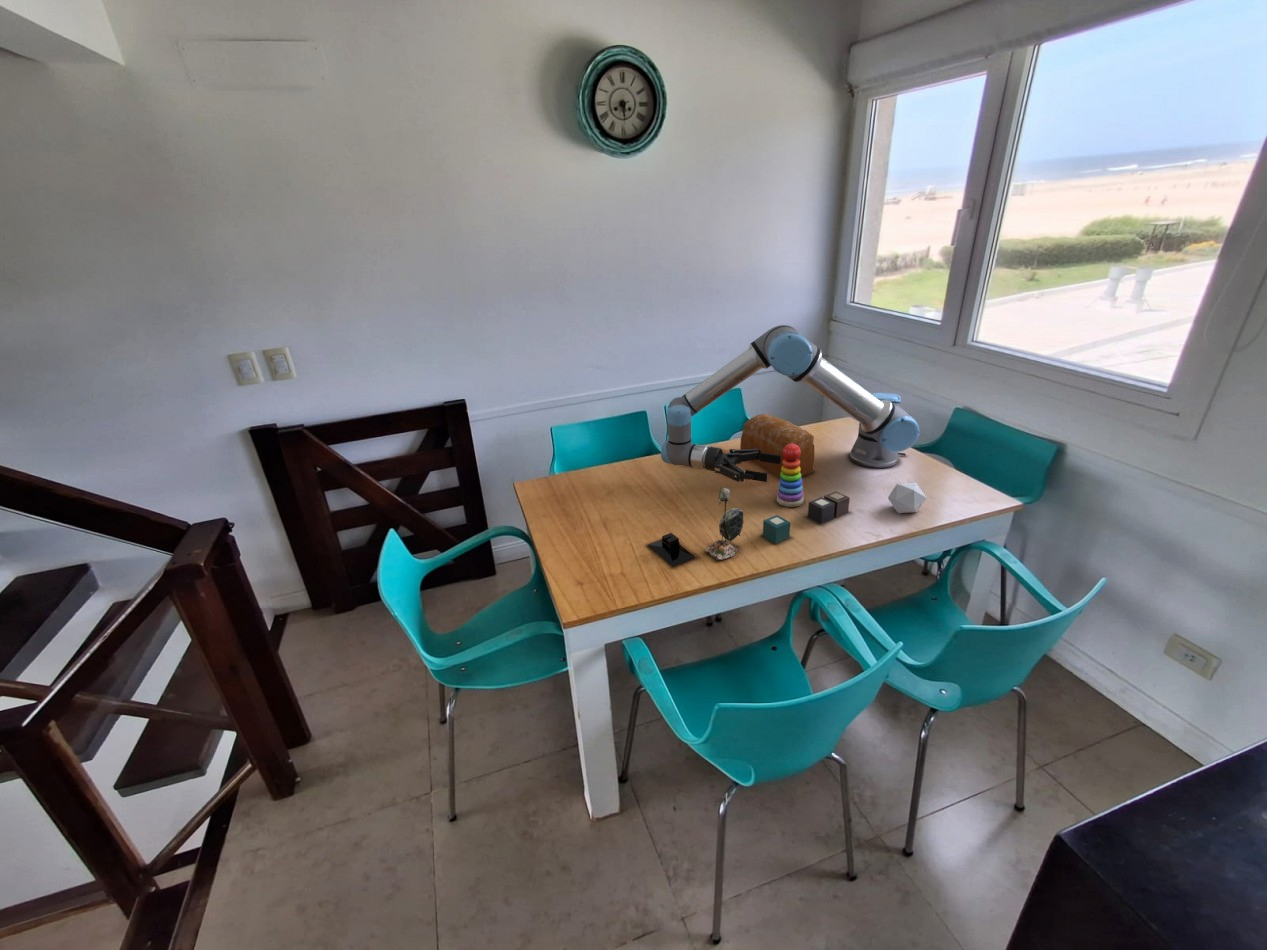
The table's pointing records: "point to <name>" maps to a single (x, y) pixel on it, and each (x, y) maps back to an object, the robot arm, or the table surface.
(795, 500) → the stacking toy
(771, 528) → the teal block
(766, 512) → the table surface
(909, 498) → the die
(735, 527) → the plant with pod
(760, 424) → the bread
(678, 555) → the build plate
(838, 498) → the walnut block
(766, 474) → the robot arm
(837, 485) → the table surface
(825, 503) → the charcoal block
